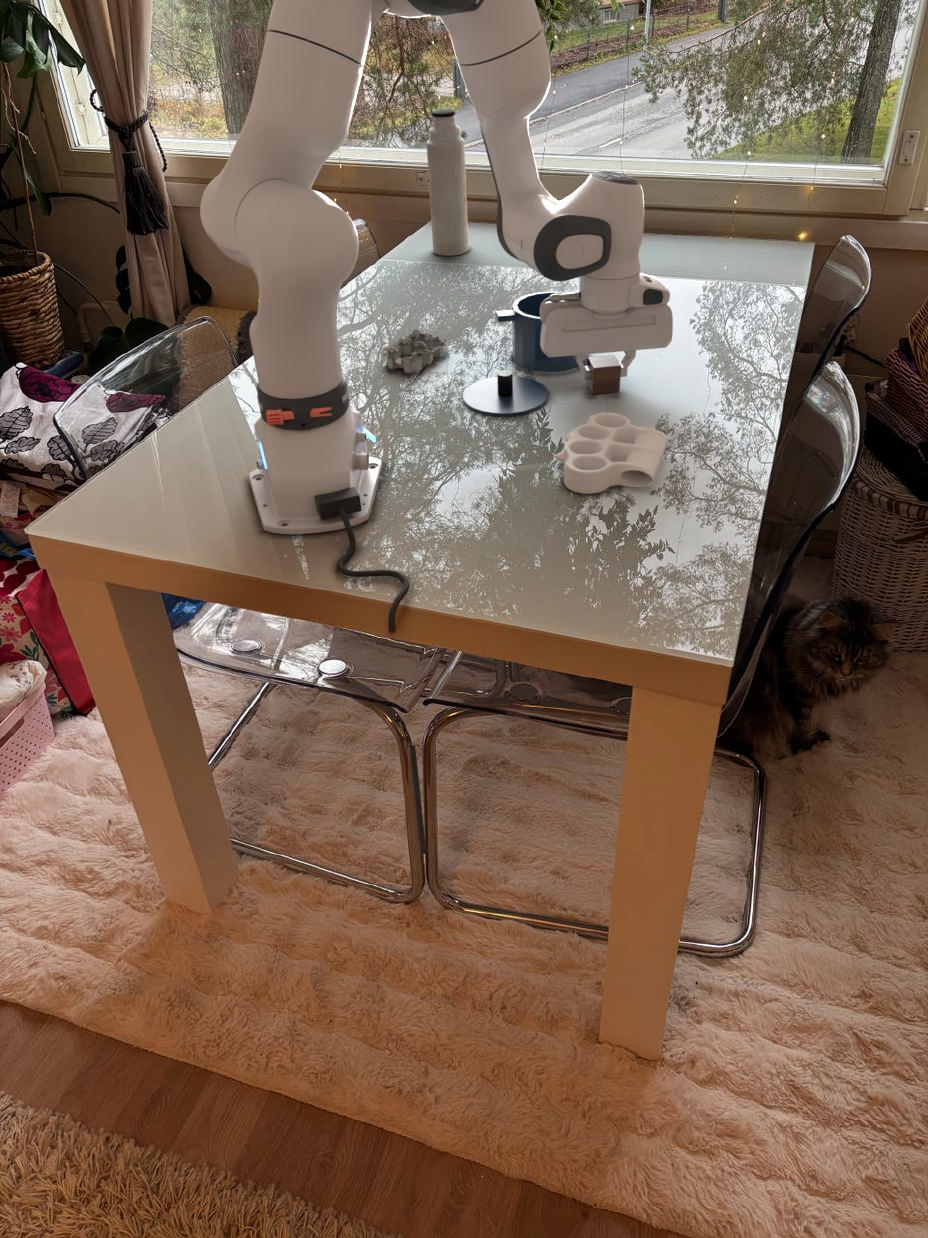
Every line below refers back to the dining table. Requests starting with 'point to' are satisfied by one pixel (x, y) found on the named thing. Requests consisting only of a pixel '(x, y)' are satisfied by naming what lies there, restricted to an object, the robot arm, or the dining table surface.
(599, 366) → the block
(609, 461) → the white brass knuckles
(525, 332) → the pot
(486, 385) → the lid
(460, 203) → the thermos bottle
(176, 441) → the dining table surface
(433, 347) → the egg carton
